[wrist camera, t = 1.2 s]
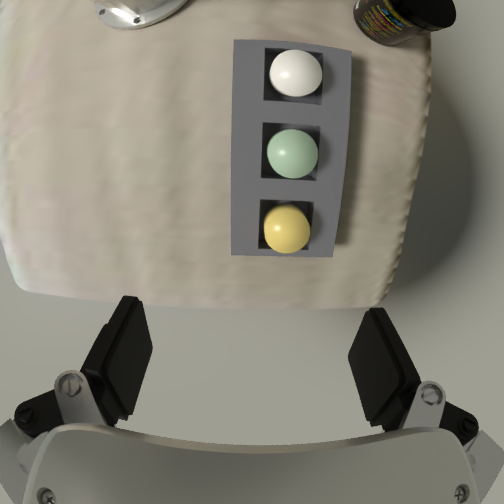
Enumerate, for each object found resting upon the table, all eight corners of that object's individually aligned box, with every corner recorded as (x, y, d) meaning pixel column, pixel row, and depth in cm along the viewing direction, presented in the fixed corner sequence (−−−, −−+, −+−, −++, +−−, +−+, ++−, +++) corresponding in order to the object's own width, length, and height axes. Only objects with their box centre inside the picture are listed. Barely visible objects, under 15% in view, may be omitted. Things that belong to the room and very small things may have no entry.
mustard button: (264, 202, 27) (265, 210, 25) (307, 203, 27) (312, 212, 25) (262, 241, 29) (263, 252, 27) (303, 242, 29) (307, 253, 27)
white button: (269, 54, 20) (271, 47, 18) (316, 58, 20) (322, 53, 18) (268, 96, 22) (270, 93, 20) (315, 100, 22) (321, 98, 20)
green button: (267, 127, 24) (269, 128, 21) (313, 130, 24) (319, 132, 21) (265, 171, 26) (267, 177, 23) (310, 174, 26) (315, 179, 24)
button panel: (235, 47, 22) (234, 39, 19) (342, 56, 22) (351, 51, 19) (233, 242, 32) (231, 255, 29) (325, 245, 32) (332, 257, 29)
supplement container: (396, 57, 21) (451, 42, 12) (343, 28, 20) (384, -5, 11) (408, 18, 18) (459, -3, 9) (358, -11, 17) (397, -47, 8)
